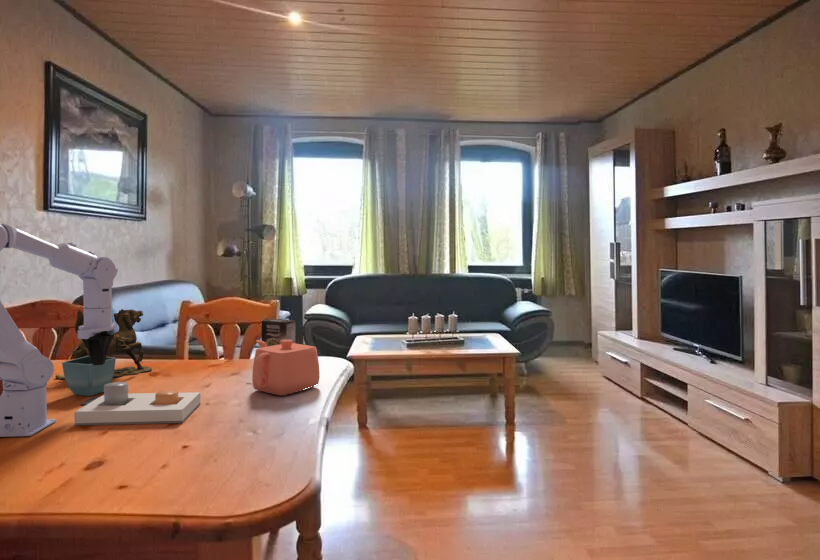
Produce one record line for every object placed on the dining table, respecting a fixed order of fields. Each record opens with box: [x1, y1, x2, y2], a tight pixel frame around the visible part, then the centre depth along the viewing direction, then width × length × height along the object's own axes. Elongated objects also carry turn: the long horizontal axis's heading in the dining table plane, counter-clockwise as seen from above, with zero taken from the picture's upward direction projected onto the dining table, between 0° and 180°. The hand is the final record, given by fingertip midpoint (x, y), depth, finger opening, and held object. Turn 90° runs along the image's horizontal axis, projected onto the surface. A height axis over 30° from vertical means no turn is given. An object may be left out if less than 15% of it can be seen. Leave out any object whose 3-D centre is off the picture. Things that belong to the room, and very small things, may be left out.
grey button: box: [103, 381, 129, 405], centre depth 117 cm, size 5×5×4 cm
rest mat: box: [80, 396, 100, 407], centre depth 127 cm, size 6×6×1 cm
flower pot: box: [61, 355, 117, 397], centre depth 134 cm, size 9×9×9 cm
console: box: [73, 391, 201, 427], centre depth 117 cm, size 14×22×3 cm, turn 97°
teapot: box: [251, 339, 321, 396], centre depth 142 cm, size 20×19×14 cm
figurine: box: [55, 308, 153, 381], centre depth 154 cm, size 13×25×20 cm, turn 118°
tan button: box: [155, 390, 179, 405], centre depth 118 cm, size 5×5×4 cm
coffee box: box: [261, 318, 297, 347], centre depth 164 cm, size 9×6×16 cm
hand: (98, 364), depth 121 cm, fingers closed
